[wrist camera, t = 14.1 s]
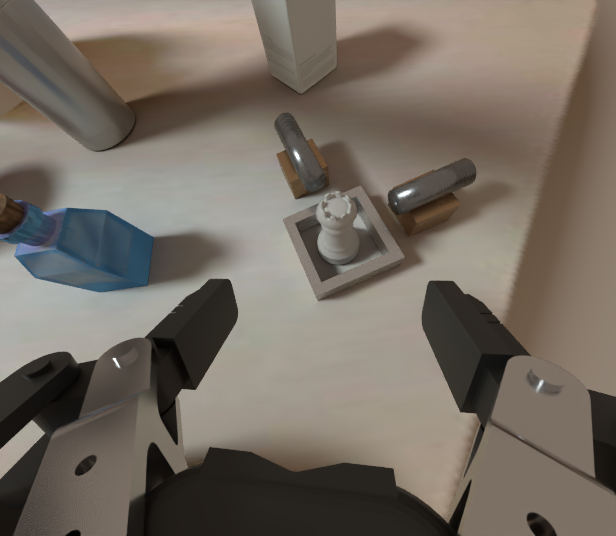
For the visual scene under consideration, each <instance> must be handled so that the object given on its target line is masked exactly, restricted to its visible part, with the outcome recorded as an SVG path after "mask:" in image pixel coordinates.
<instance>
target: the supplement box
mask: <svg viewBox="0 0 616 536" xmlns="http://www.w3.org/2000/svg"><path fill="white" fill-rule="evenodd" d="M252 4H253V8H254V11H255V15H256V19H257V23H258V26H259V30H260V34H261V38H262V41H263V45H264V49H265V53H266V57H267V61H268V64H269V68H270V72H271V75H272V76H274V77H276V78H277V79H279V80H280V81H282V82H283V83H285V84H286V85H288V86H289V87H291V88H292V89H294V90H295V91H297V92H298V93H299V94H302V93H304V92H305V91H306V90H308V89H309V88H310V87H312V86H313V85H314V84H316V83H317V82H318V81H320V80H321V79H322V78H323V77H325V76H326V75H327V74H329V73H330V72H331V71H333V70H334V69H335V68H336V67H337V44H336V9H335V0H252Z"/></svg>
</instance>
